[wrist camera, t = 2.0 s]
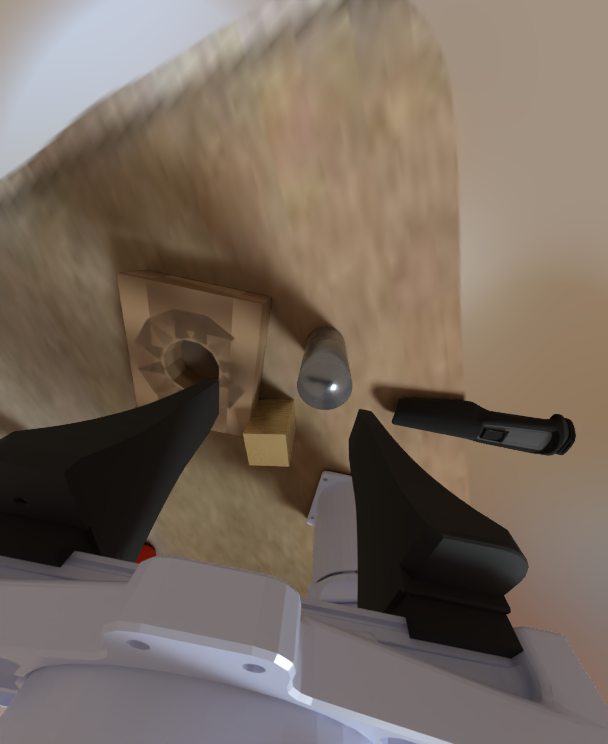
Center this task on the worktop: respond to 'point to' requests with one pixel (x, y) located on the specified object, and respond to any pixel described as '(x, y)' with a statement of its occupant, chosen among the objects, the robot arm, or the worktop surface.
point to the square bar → (271, 433)
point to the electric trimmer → (487, 425)
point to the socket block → (195, 341)
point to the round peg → (325, 370)
